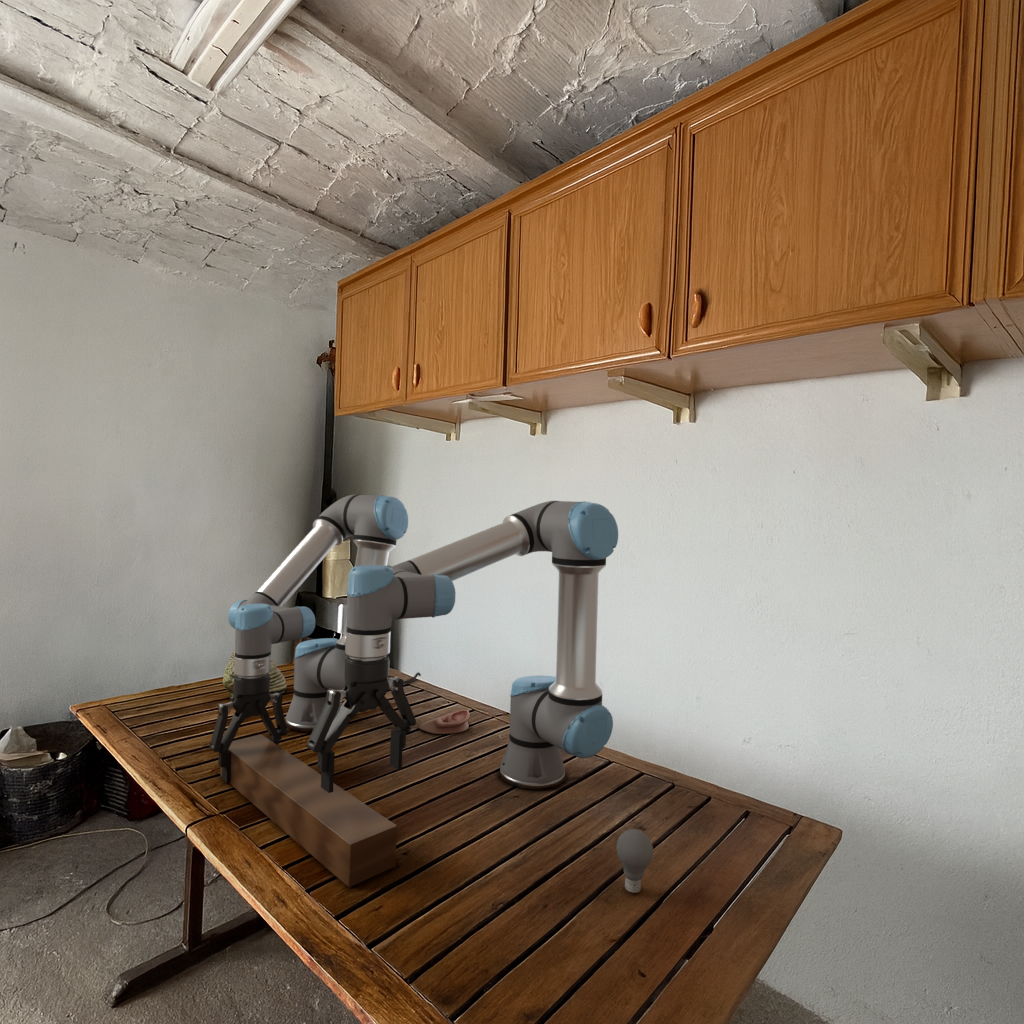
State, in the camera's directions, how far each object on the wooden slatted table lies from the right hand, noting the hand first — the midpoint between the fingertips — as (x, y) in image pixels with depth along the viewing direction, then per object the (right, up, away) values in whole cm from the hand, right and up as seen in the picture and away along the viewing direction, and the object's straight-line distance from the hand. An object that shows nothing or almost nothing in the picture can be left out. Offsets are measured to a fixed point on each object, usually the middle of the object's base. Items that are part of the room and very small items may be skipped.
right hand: (362, 778), depth 109 cm
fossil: (-55, -11, +89) cm, 105 cm away
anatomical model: (+7, -14, +68) cm, 69 cm away
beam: (-17, -14, +16) cm, 28 cm away
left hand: (-33, -13, +33) cm, 48 cm away
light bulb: (+46, -17, -4) cm, 49 cm away
